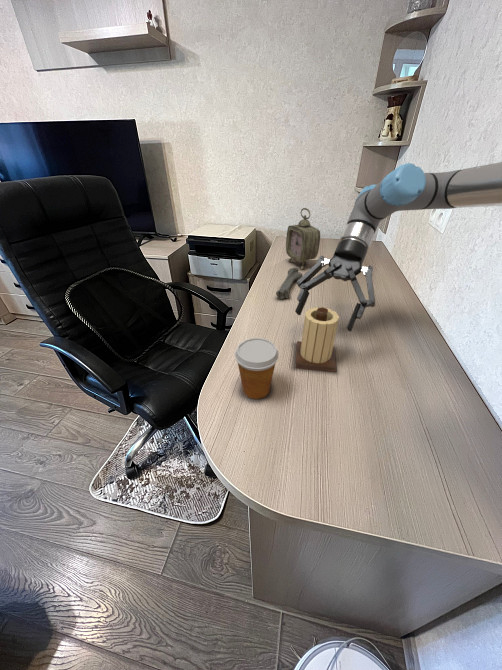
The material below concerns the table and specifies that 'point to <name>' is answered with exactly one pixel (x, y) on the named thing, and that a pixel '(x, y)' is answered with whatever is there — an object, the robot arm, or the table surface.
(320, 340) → the wooden stave sleeve
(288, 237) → the tabletop clock
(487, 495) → the table surface
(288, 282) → the bone
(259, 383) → the disposable coffee cup
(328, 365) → the spindle stand
